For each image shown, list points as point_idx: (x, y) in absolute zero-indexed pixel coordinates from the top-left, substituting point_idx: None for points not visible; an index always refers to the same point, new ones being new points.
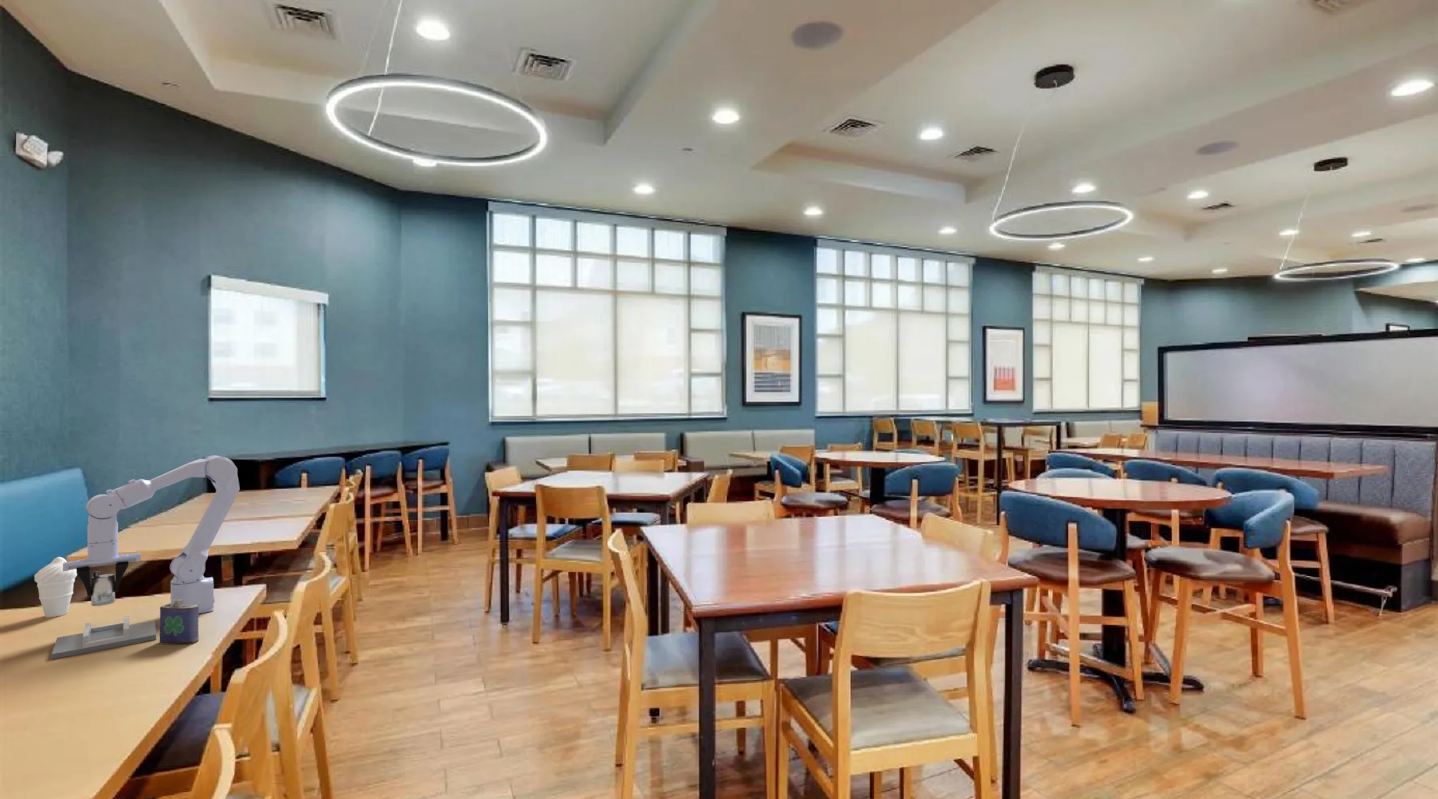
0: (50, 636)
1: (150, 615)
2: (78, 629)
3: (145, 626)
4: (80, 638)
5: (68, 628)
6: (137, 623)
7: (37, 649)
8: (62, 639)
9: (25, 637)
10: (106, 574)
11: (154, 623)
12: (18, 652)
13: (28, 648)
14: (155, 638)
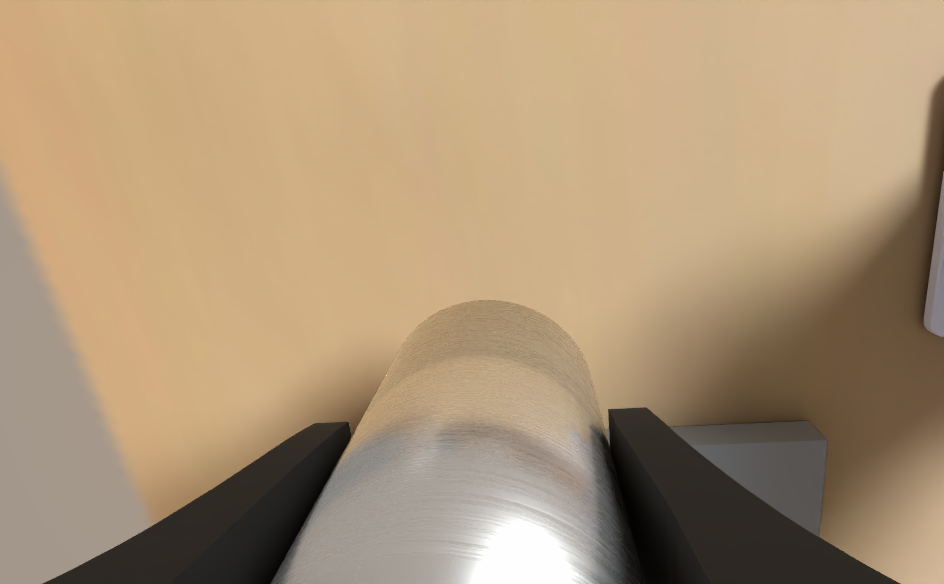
0: (216, 266)
1: (806, 83)
2: (343, 190)
3: None
4: None
5: (267, 106)
6: (715, 449)
7: None
8: None
9: (66, 183)
10: (487, 577)
11: (816, 523)
12: (166, 506)
13: (187, 462)
14: None
